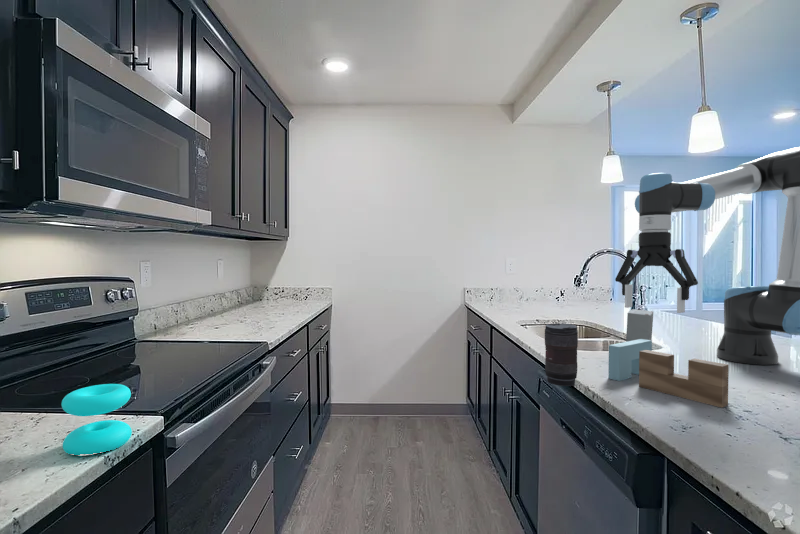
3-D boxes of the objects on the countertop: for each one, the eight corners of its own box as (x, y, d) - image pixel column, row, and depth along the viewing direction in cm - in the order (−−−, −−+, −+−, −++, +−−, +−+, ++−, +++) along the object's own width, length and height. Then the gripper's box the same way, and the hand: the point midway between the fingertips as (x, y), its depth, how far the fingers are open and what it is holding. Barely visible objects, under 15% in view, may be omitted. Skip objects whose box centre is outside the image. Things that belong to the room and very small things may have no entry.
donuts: (107, 399, 71) (45, 399, 71) (108, 459, 72) (47, 460, 71) (142, 381, 81) (88, 382, 81) (143, 434, 82) (89, 434, 81)
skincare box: (628, 357, 140) (628, 308, 140) (653, 360, 136) (654, 310, 136) (623, 362, 134) (624, 311, 133) (650, 366, 129) (651, 313, 129)
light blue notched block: (640, 369, 125) (641, 338, 125) (651, 372, 123) (651, 340, 123) (608, 378, 117) (608, 345, 117) (619, 381, 114) (619, 347, 114)
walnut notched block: (645, 384, 111) (645, 349, 111) (728, 405, 96) (728, 364, 96) (639, 386, 109) (639, 351, 109) (721, 407, 94) (722, 366, 94)
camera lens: (537, 380, 115) (538, 324, 115) (561, 376, 118) (561, 322, 118) (560, 389, 108) (560, 329, 107) (584, 385, 111) (585, 326, 111)
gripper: (603, 233, 126) (602, 306, 126) (701, 228, 105) (699, 316, 106) (617, 234, 130) (616, 304, 130) (713, 229, 109) (712, 313, 110)
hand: (653, 309), depth 118 cm, fingers open, 13 cm apart
